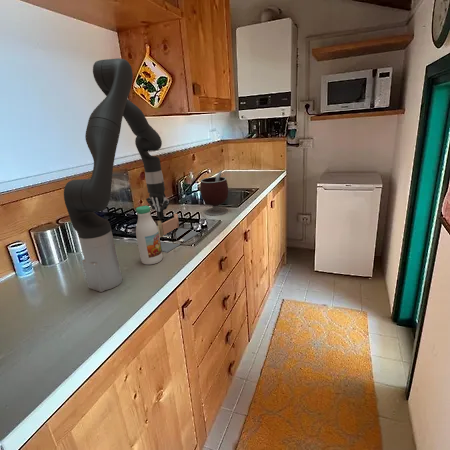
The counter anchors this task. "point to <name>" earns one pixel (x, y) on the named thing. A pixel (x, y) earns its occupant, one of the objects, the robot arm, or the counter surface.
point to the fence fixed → (160, 228)
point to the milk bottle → (148, 237)
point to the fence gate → (170, 224)
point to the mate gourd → (214, 194)
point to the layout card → (170, 246)
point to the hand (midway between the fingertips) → (161, 218)
